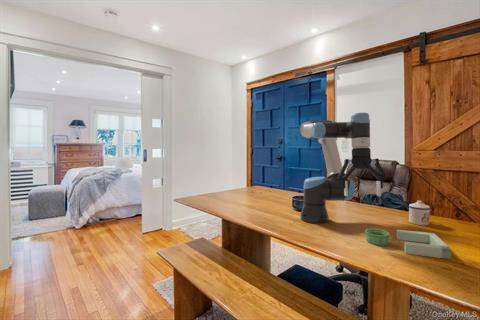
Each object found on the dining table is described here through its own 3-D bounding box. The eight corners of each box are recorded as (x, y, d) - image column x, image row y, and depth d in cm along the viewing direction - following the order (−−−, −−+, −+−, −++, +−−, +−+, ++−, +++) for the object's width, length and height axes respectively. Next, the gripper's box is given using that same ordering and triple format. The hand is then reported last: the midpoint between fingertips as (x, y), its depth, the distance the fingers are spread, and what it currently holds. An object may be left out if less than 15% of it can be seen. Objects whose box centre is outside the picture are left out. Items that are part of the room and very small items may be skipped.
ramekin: (389, 248, 99) (389, 237, 99) (364, 243, 104) (364, 233, 103) (389, 240, 106) (389, 230, 106) (366, 237, 111) (366, 227, 111)
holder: (405, 253, 93) (405, 244, 93) (396, 237, 110) (396, 229, 110) (450, 259, 88) (451, 249, 88) (433, 241, 105) (434, 233, 105)
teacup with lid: (425, 226, 124) (425, 203, 123) (405, 222, 131) (405, 200, 131) (435, 222, 130) (436, 200, 130) (415, 218, 138) (416, 197, 137)
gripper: (333, 147, 109) (334, 196, 109) (395, 146, 105) (396, 197, 105) (329, 149, 117) (331, 194, 116) (387, 148, 113) (389, 195, 112)
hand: (362, 196), depth 110 cm, fingers open, 13 cm apart
